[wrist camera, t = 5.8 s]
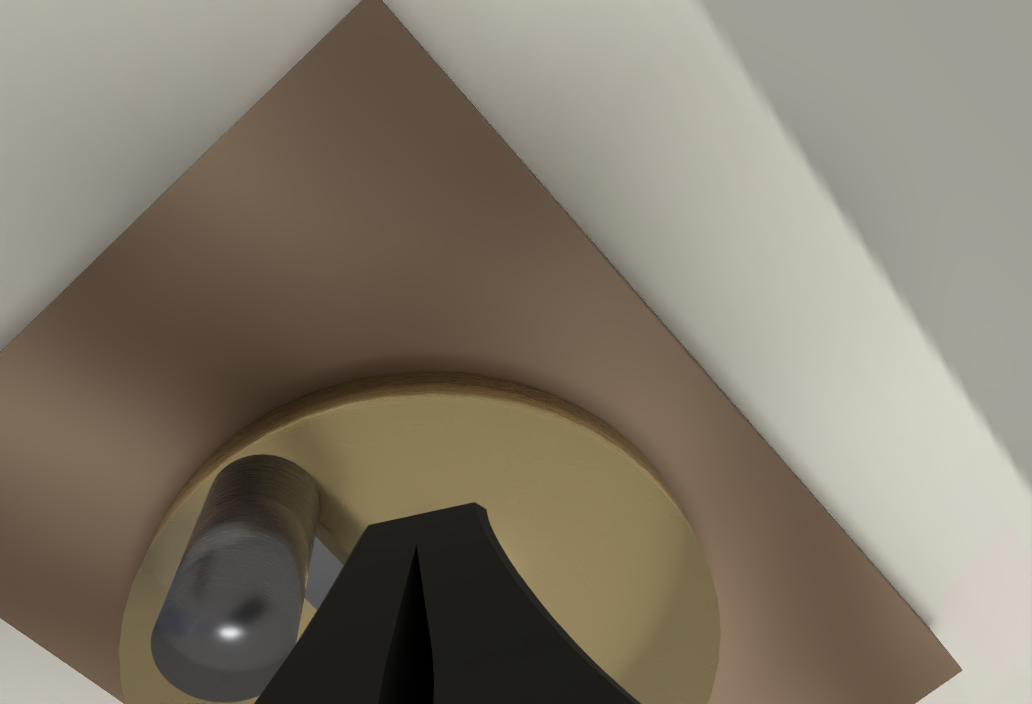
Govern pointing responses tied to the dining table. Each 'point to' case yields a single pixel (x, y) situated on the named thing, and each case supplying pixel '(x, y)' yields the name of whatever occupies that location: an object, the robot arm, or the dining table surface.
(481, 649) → the robot arm
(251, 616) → the dial
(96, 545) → the walnut stand
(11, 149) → the dining table surface
